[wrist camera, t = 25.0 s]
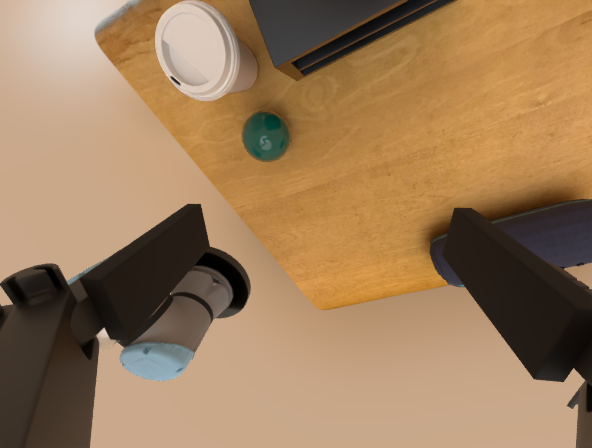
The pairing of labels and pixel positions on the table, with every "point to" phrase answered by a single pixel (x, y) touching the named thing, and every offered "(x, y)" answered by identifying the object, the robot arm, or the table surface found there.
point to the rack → (330, 28)
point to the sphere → (266, 136)
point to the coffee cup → (203, 52)
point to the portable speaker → (538, 236)
